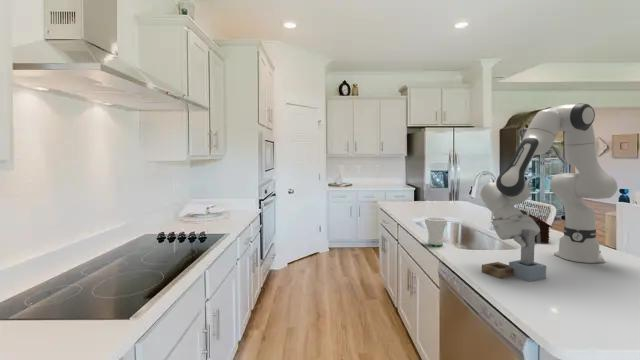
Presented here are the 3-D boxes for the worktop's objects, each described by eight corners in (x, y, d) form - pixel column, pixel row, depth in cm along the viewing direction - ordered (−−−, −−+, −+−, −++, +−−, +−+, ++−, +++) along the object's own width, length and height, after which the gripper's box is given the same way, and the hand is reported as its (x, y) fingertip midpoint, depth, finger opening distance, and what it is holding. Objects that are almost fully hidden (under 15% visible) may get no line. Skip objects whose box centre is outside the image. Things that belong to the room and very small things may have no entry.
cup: (420, 243, 193) (420, 217, 192) (437, 241, 197) (437, 216, 196) (433, 248, 182) (434, 221, 181) (451, 246, 186) (451, 219, 185)
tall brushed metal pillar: (520, 264, 141) (521, 229, 140) (526, 263, 142) (527, 229, 141) (528, 267, 138) (529, 231, 137) (533, 266, 139) (535, 230, 138)
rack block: (508, 274, 142) (509, 262, 142) (524, 271, 146) (524, 259, 146) (529, 281, 134) (530, 268, 134) (545, 278, 138) (546, 265, 137)
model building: (550, 244, 190) (551, 216, 189) (526, 243, 193) (527, 215, 192) (538, 235, 210) (538, 210, 209) (516, 234, 213) (517, 209, 212)
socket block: (481, 271, 146) (481, 264, 146) (497, 268, 149) (497, 261, 149) (500, 278, 137) (500, 271, 137) (517, 275, 141) (517, 268, 141)
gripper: (494, 214, 141) (515, 244, 132) (530, 211, 149) (552, 239, 140) (484, 223, 145) (505, 253, 137) (519, 219, 153) (541, 247, 145)
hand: (529, 246), depth 139 cm, fingers closed on tall brushed metal pillar, 3 cm apart
